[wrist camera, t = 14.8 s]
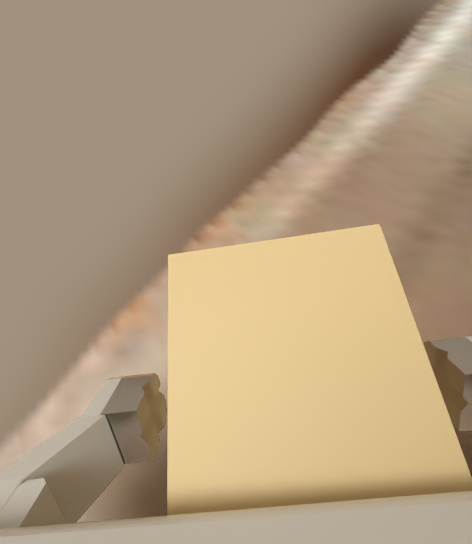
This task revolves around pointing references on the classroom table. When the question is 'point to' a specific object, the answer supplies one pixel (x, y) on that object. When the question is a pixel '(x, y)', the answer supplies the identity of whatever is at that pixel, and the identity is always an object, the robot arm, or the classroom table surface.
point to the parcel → (300, 379)
